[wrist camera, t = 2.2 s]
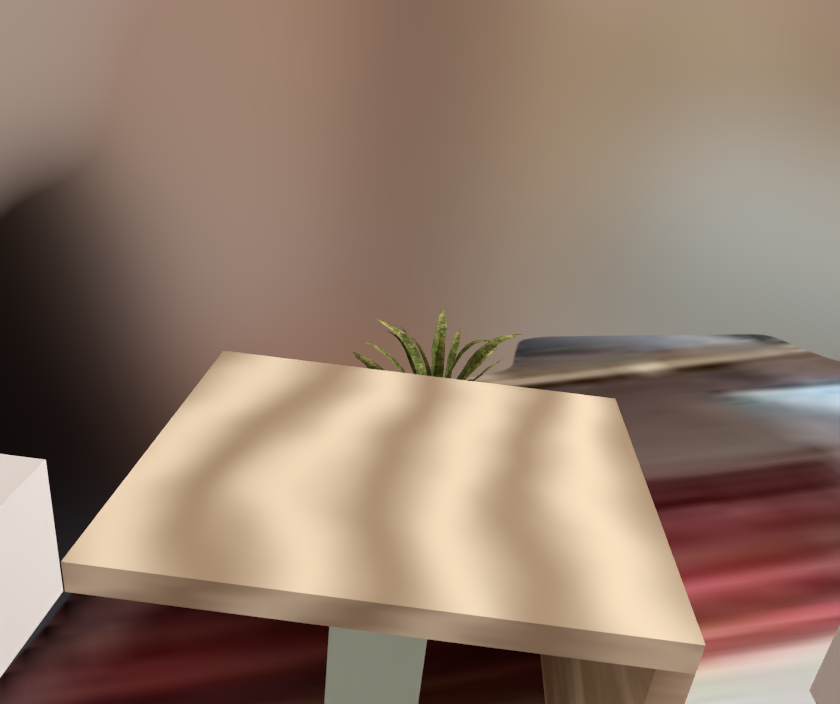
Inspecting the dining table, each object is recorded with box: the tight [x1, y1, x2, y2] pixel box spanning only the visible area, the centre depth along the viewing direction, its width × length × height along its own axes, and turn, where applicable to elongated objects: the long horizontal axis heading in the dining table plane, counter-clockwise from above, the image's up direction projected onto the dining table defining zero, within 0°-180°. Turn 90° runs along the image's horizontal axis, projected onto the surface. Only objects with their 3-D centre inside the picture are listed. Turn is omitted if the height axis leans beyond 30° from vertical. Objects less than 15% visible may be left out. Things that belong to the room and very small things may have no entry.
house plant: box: [353, 310, 519, 381], centre depth 66 cm, size 14×14×16 cm
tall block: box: [324, 626, 427, 704], centre depth 41 cm, size 5×5×12 cm
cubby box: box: [61, 351, 706, 704], centre depth 40 cm, size 24×20×20 cm
